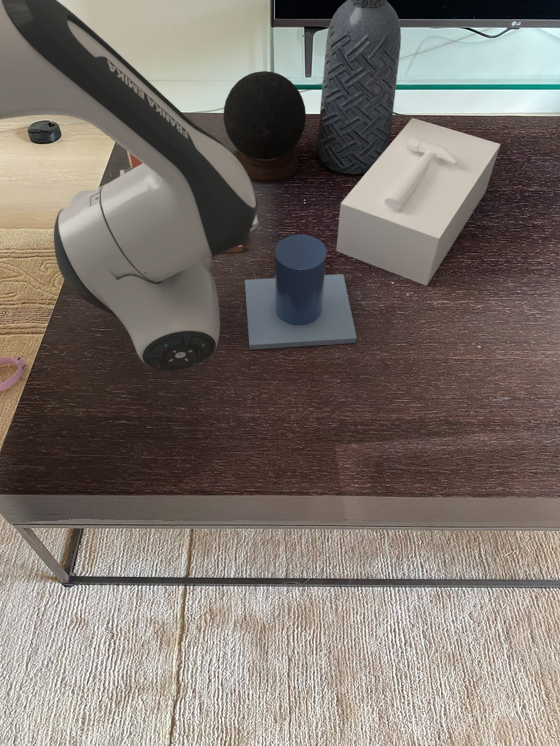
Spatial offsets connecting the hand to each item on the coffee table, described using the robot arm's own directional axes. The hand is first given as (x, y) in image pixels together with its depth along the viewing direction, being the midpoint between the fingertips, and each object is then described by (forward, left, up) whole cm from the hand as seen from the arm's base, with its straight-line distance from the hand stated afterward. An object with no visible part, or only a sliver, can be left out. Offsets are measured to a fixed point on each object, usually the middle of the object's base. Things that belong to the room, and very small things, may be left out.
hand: (159, 170), depth 76 cm
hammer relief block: (+37, +9, -17) cm, 41 cm away
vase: (+30, +27, -17) cm, 43 cm away
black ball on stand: (+15, +26, -17) cm, 34 cm away
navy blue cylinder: (+17, -9, -16) cm, 25 cm away
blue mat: (+17, -9, -17) cm, 26 cm away
